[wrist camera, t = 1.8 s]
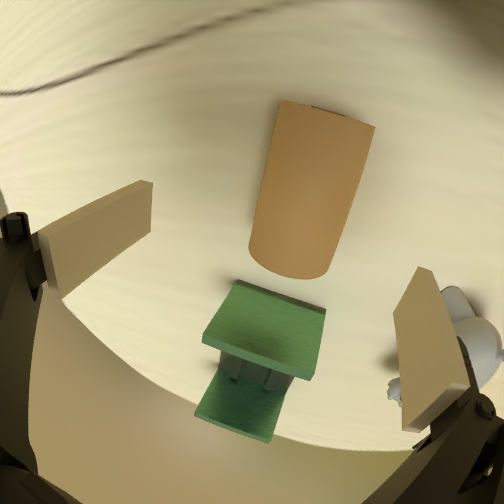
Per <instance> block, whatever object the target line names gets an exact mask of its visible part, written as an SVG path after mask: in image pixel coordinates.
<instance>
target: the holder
mask: <svg viewBox="0 0 504 504" xmlns="http://www.w3.org/2000/svg"><path fill="white" fill-rule="evenodd" d="M325 314H326V309H324V308H321V307H317V306H314V305H311V304H308V303H305V302H302V301H299V300H296V299H293V298H290V297H287V296H284V295H282V294H279V293H276V292H273V291H270V290H267V289H264V288H261V287H258V286H255V285H252V284H250V283H247V282H244V281H241V280H237V282H236V283H235V285H234V286H233V288H232V289H231V291H230V292H229V294H228V296H227V297H226V299H225V300H224V302H223V303H222V305H221V306H220V308H219V309H218V311H217V313H216V314H215V316H214V317H213V319H212V320H211V322H210V323H209V325H208V326H207V328H206V329H205V331H204V333H203V336H202V343H204V344H206V345H209V346H211V347H214V348H216V349H219V350H221V357H220V362H219V367H218V370H217V372H216V373H215V375H214V377H213V379H212V381H211V383H210V385H209V387H208V388H207V390H206V392H205V394H204V396H203V398H202V399H201V401H200V403H199V405H198V407H197V409H196V411H195V414H194V416H196V417H198V418H200V419H203V420H205V421H207V422H210V423H212V424H215V425H217V426H220V427H222V428H225V429H228V430H230V431H233V432H236V433H238V434H242V435H244V436H247V437H250V438H253V439H256V440H259V441H262V442H265V443H269V442H270V441H271V438H272V435H273V432H274V429H275V426H276V423H277V420H278V417H279V414H280V411H281V407H282V404H283V401H284V397H285V394H286V392H287V390H288V388H289V386H290V384H291V382H292V381H293V379H294V377H298V378H301V379H304V380H307V381H310V380H311V378H312V377H313V375H314V373H315V369H316V364H317V359H318V354H319V348H320V343H321V337H322V332H323V326H324V320H325Z"/></svg>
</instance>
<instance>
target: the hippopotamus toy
mask: <svg viewBox="0 0 504 504" xmlns="http://www.w3.org/2000/svg"><path fill="white" fill-rule="evenodd" d="M441 295H442V297H443V300H444V303H445V305H446V308H447V311H448V313H449V316H450V319H451V322H452V325H453V328H454V331H455V334H456V336H459V337H460V338H461V339H462V341H463V342H464V344H465V345H466V347H467V350H468V353H469V359H470V360H471V363H472V366H471V367H473V370H474V374H475V377H476V381H477V385H478V389H480V388H482V387H483V386H484V385H485V384H486V383H487V382H488V381H489V380H490V379H491V377H492V376H493V375H494V373H495V372H496V371H497V369H498V367H499V365H500V363H501V362H502V361H504V349H502V341H501V337H500V335H499V333H498V331H497V329H496V328H495V327H494V326H493V325H492V324H491V323H490V322H489V321H487V320H486V319H483V318H480V317H476V316H475V314H474V312H473V310H472V308H471V307H470V305H469V303H468V301H467V299H466V298H465V296H464V294H463V293H462V291H461V290H460V289H459V288H457V287H448V288H446V289H445V290H443V291H442V292H441ZM388 386H389V389H388V390H387V394H388V399H389V400H391V399H394V400H396V401H397V402H398V403H399V406H400V407H402V405H401V385H400V377H398V378H395V379H392V380H391V381H390V382H389V383H388Z"/></svg>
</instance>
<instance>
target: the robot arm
mask: <svg viewBox="0 0 504 504" xmlns="http://www.w3.org/2000/svg"><path fill="white" fill-rule="evenodd" d="M152 188H153V183H151V182H147V181H143V180H139V181H137V182H135V183H133V184H130V185H128V186H126V187H123V188H121V189H119V190H117V191H115V192H112V193H110V194H108V195H106V196H104V197H102V198H100V199H98V200H95V201H93V202H91V203H89V204H87V205H85V206H83V207H81V208H79V209H77V210H75V211H73V212H71V213H70V214H68V215H66V216H64V217H62V218H60V219H58V220H56V221H54V222H53V223H51V224H49V225H47V226H45V227H44V228H42V229H40V230H38V231H37V232H35V233H33V234H32V235H31V233H30V227H29V221H28V215H27V214H26V213H24V212H14V213H10V214H8V215H6V216H4V217H3V218H1V219H0V227H1V232H2V237H3V238H0V504H82V503H80V502H79V501H78V500H76V499H75V498H73V497H72V496H71V495H69V494H68V493H67V492H65V491H63V490H62V489H60V488H58V487H57V486H55V485H53V484H52V483H50V482H49V481H47V480H45V479H44V478H42V477H41V476H39V475H38V468H37V462H36V458H35V454H34V452H33V449H32V447H31V445H30V442H29V437H28V401H29V381H30V369H31V360H32V351H33V344H34V337H35V330H36V324H37V319H38V313H39V308H40V303H41V299H42V294H43V287H42V283H43V282H45V281H46V280H47V282H48V286H49V290H50V292H51V293H52V294H54V295H55V296H57V297H59V298H60V299H63V298H64V297H65V296H66V295H67V294H69V293H70V292H71V291H72V290H74V289H75V288H76V287H77V286H79V285H80V284H81V283H82V282H84V281H85V280H86V279H87V278H89V277H90V276H91V275H93V274H94V273H95V272H96V271H98V270H99V269H100V268H102V267H103V266H104V265H106V264H107V263H108V262H110V261H111V260H112V259H114V258H115V257H116V256H118V255H119V254H120V253H122V252H123V251H124V250H126V249H127V248H128V247H130V246H131V245H133V244H134V243H135V242H137V241H138V240H139V239H141V238H142V237H144V236H145V235H147V234H148V233H149V232H150V231H151V205H152ZM393 316H394V323H395V331H396V339H397V348H398V358H399V370H400V385H401V405H402V431H408V432H416V433H420V432H421V431H422V430H424V429H425V428H426V427H427V426H428V425H430V430H431V433H430V434H429V435H428V436H426V437H425V438H424V439H423V440H421V441H420V442H419V443H417V444H416V445H415V446H413V447H412V448H413V449H415V448H416V449H415V450H414V451H413V452H412V454H411V455H410V456H409V457H408V458H407V459H406V460H405V462H404V463H403V464H402V465H401V466H400V467H399V468H398V469H397V470H396V471H395V472H394V473H393V474H392V475H391V476H390V477H389V478H388V479H387V480H386V481H385V482H384V483H383V484H382V485H381V486H380V487H379V488H378V489H377V490H376V491H375V492H374V493H373V494H372V495H370V496H369V497H368V498H367V499H366V500H365V501H364V502H363V503H362V504H504V420H503V419H502V418H500V417H498V416H496V410H495V407H494V405H493V403H492V401H491V400H490V399H489V398H488V397H487V396H485V395H484V394H481V393H479V389H478V385H477V381H476V377H475V374H474V370H473V367H471V366H472V363H471V360H470V359H469V353H468V350H467V347H466V345H465V344H464V342H463V341H462V339H461V338H460V337H459V336H456V334H455V331H454V328H453V325H452V322H451V319H450V316H449V313H448V311H447V308H446V305H445V303H444V300H443V297H442V295H441V292H440V290H439V287H438V285H437V283H436V280H435V278H434V275H433V273H432V271H430V270H427V269H424V268H422V267H419V266H418V268H417V270H416V272H415V274H414V276H413V277H412V279H411V281H410V283H409V285H408V287H407V289H406V291H405V292H404V294H403V296H402V298H401V300H400V301H399V303H398V305H397V307H396V309H395V310H394V312H393ZM492 467H493V469H492V472H491V473H490V475H488V476H487V474H488V470H489V469H490V468H492Z"/></svg>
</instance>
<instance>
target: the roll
mask: <svg viewBox="0 0 504 504" xmlns="http://www.w3.org/2000/svg"><path fill="white" fill-rule="evenodd" d="M374 130H375V127H374V126H371V125H368V124H365V123H362V122H359V121H356V120H353V119H350V118H347V117H346V116H344V115H341V114H338V113H334V112H331V111H328V110H324V109H320V108H317V107H313V106H311V107H308V106H304V105H300V104H296V103H292V102H287V101H283V100H281V101H280V105H279V110H278V114H277V119H276V123H275V128H274V132H273V137H272V141H271V146H270V150H269V155H268V159H267V164H266V168H265V173H264V178H263V182H262V187H261V191H260V196H259V200H258V205H257V210H256V214H255V219H254V223H253V228H252V233H251V237H250V242H249V252H250V254H251V256H252V257H253V259H254V260H255V261H256V262H257V263H259V264H260V265H261V266H263V267H264V268H266V269H268V270H269V271H271V272H274V273H276V274H279V275H281V276H285V277H289V278H294V279H314V278H318V277H320V276H322V275H324V274H325V273H326V272H327V270H328V268H329V266H330V263H331V260H332V258H333V255H334V253H335V250H336V247H337V245H338V242H339V239H340V236H341V234H342V231H343V228H344V225H345V222H346V220H347V217H348V214H349V211H350V208H351V205H352V202H353V199H354V196H355V193H356V190H357V187H358V184H359V181H360V177H361V174H362V171H363V168H364V165H365V161H366V158H367V155H368V151H369V148H370V144H371V141H372V137H373V134H374Z"/></svg>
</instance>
